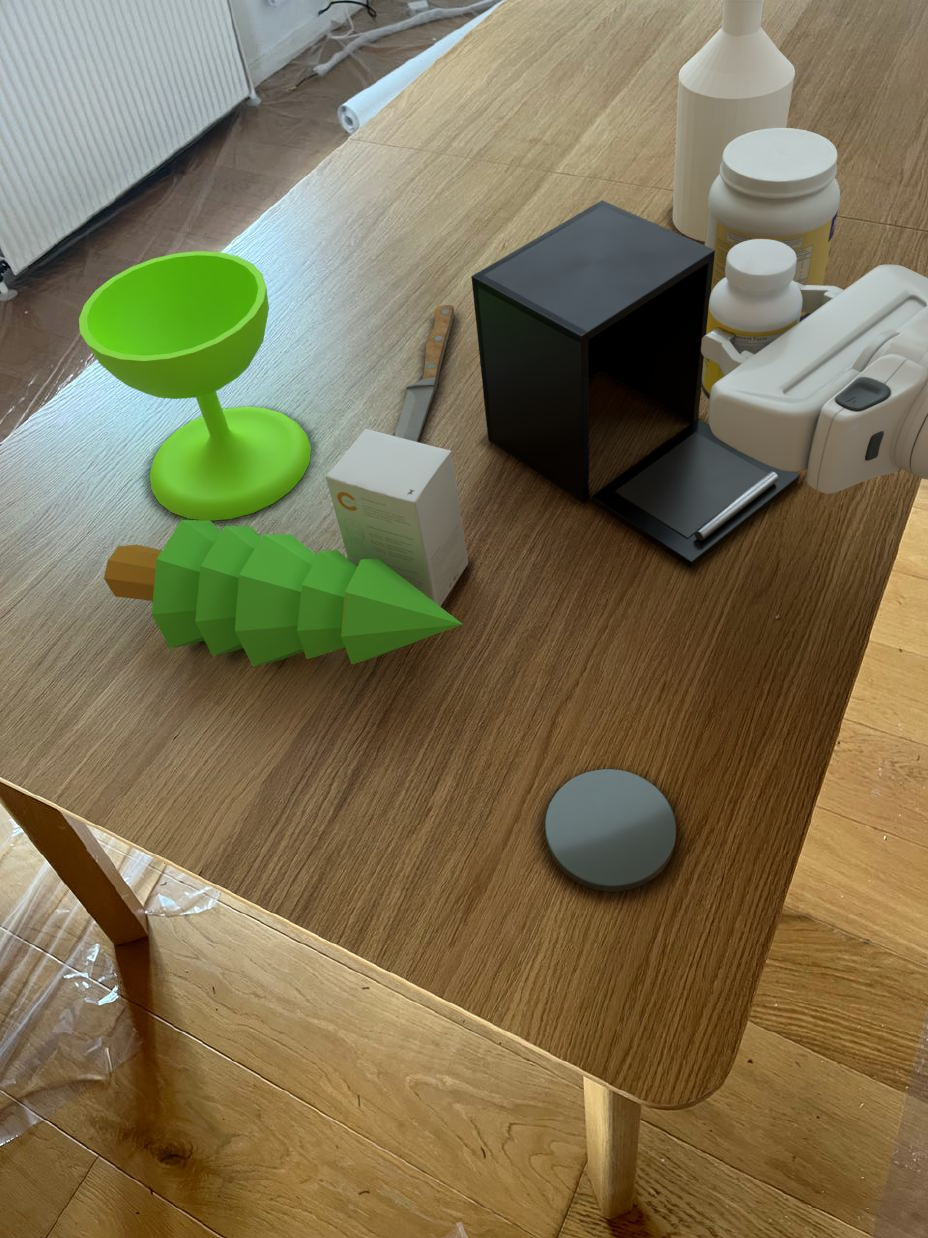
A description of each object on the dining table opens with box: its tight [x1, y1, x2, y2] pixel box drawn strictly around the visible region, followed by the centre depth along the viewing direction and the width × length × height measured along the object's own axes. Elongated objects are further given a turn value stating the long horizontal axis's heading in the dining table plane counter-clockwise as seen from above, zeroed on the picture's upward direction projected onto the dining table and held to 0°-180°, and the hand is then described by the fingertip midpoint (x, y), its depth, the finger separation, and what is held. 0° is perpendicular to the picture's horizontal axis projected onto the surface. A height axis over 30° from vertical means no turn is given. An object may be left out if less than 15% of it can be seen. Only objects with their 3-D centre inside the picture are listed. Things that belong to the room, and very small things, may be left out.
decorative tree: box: [103, 519, 463, 667], centre depth 81 cm, size 11×12×30 cm
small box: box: [325, 428, 469, 608], centre depth 83 cm, size 8×6×13 cm
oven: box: [471, 199, 801, 569], centre depth 88 cm, size 25×16×18 cm, turn 41°
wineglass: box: [78, 250, 312, 522], centre depth 93 cm, size 16×16×18 cm
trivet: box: [544, 768, 677, 893], centre depth 71 cm, size 9×9×1 cm
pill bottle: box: [701, 239, 803, 403], centre depth 75 cm, size 6×6×12 cm
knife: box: [393, 304, 455, 442], centre depth 103 cm, size 31×1×3 cm
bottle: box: [672, 0, 796, 243], centre depth 110 cm, size 12×12×25 cm
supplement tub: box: [704, 127, 841, 322], centre depth 101 cm, size 12×12×17 cm
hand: (742, 315), depth 75 cm, fingers closed on pill bottle, 6 cm apart
